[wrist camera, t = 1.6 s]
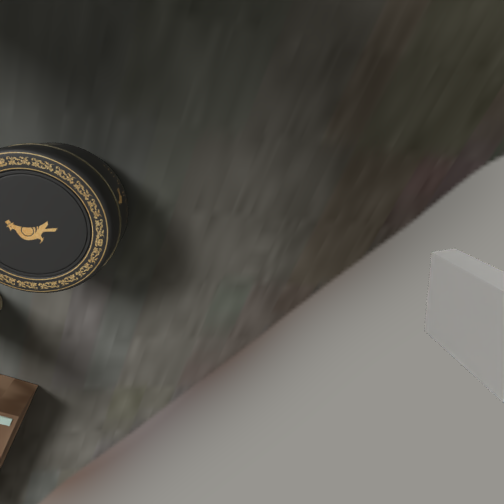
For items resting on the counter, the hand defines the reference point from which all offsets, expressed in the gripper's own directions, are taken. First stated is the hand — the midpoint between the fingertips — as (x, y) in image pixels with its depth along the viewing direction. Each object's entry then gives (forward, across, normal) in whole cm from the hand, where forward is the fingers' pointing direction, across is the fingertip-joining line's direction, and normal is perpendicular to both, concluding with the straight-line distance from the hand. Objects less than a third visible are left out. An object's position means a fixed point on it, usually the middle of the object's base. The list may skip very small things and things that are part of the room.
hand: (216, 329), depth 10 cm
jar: (+22, -11, 0) cm, 25 cm away
